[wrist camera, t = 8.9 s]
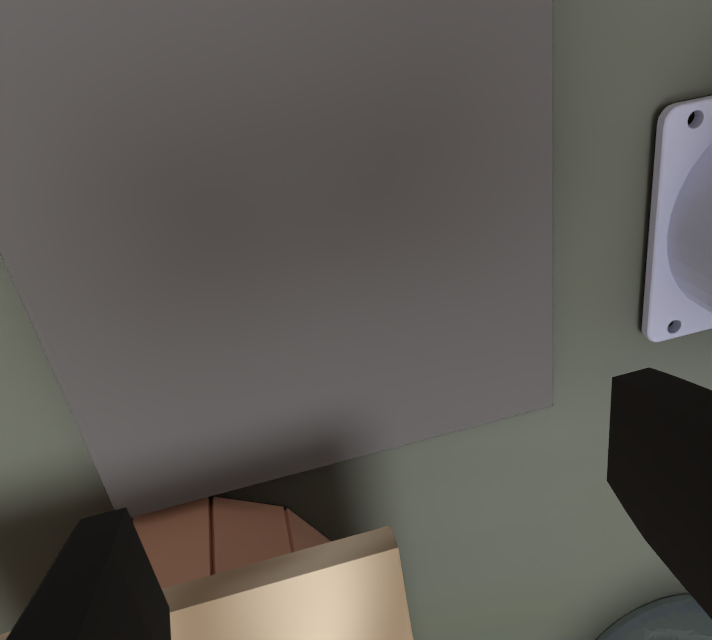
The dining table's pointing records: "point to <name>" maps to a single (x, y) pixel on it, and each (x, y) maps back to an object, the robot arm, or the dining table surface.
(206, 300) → the mat
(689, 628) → the dark green cup
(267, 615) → the lid
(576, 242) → the dining table surface
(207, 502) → the bowl
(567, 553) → the dining table surface
